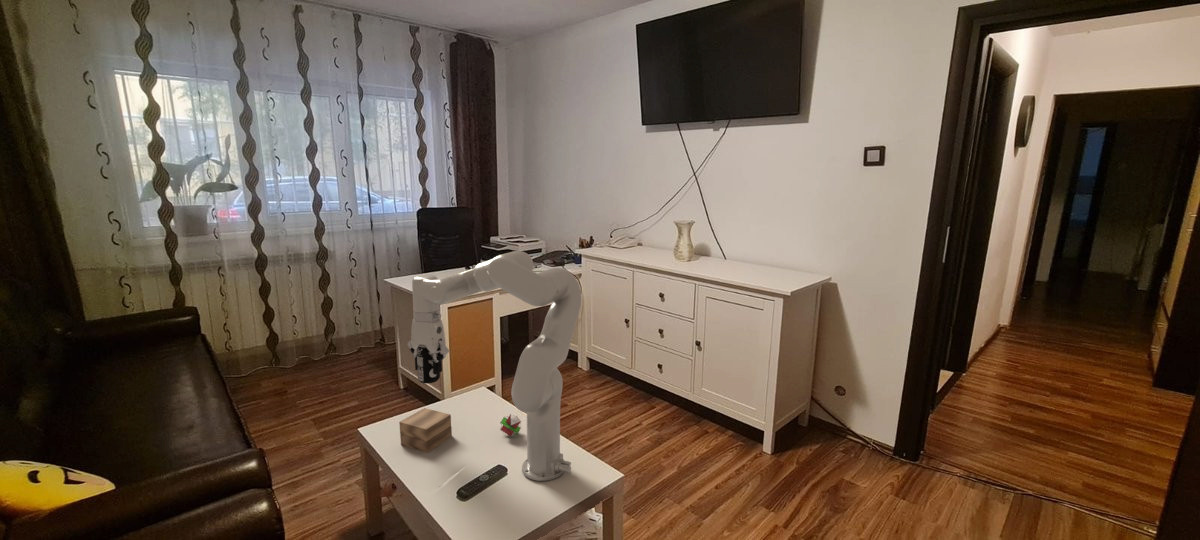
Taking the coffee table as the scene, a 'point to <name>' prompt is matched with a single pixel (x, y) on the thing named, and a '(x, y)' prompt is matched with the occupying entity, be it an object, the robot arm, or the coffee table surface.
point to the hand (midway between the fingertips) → (428, 370)
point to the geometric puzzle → (510, 425)
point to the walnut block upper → (425, 424)
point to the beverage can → (426, 365)
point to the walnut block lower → (426, 445)
